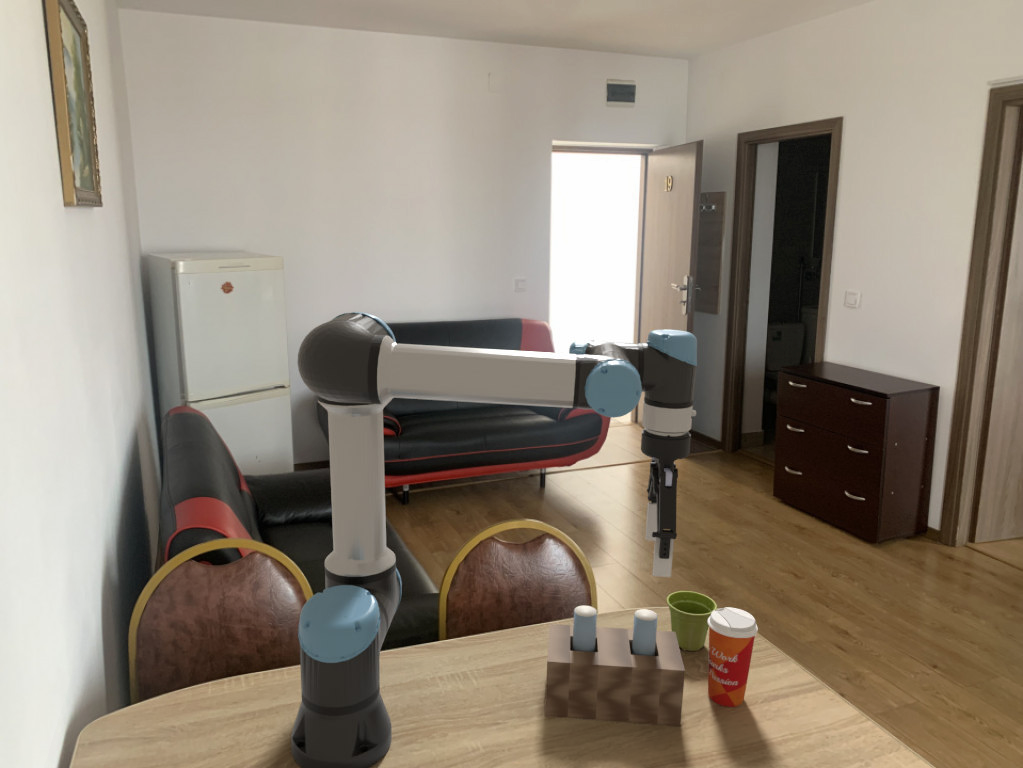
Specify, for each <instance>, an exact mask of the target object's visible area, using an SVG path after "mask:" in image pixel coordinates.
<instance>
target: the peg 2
mask: <svg viewBox="0 0 1023 768" xmlns="http://www.w3.org/2000/svg"><path fill="white" fill-rule="evenodd" d="M633 615H634V616H633V627H632V629H633V643H632V655H645V656H655V645H656V631H658V629H657V628H658V614H657V613H656V612H655V611H653V610H650V609H647V608H646V609H641V608H640V609H637V610H635V611H634V614H633Z"/></svg>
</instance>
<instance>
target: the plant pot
mask: <svg viewBox="0 0 1023 768" xmlns="http://www.w3.org/2000/svg"><path fill="white" fill-rule="evenodd" d="M666 603H667V605H668V609H669V612H670V625H671V626H670V627H671V632H675V633H676V637H677V641H678V645H679V648H681V649H682V650H684V651H689V652H696V651H700V650H701V649H702V648H703V647H704V646H705V643H706V639H707V634H708V632H709V625H708V618H709V617H710V616H711V613H712V612H713V611H714V610H715V611H717V609H718V608H717V607H718V605H717V603H716V602H715V600H713V598H711V597H709V596H707V595H706V594H703V593H699V592H697V591H691V590H690V591H689V590H679V591H675V592H672V593H670V594H668V596H667V597H666Z"/></svg>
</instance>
